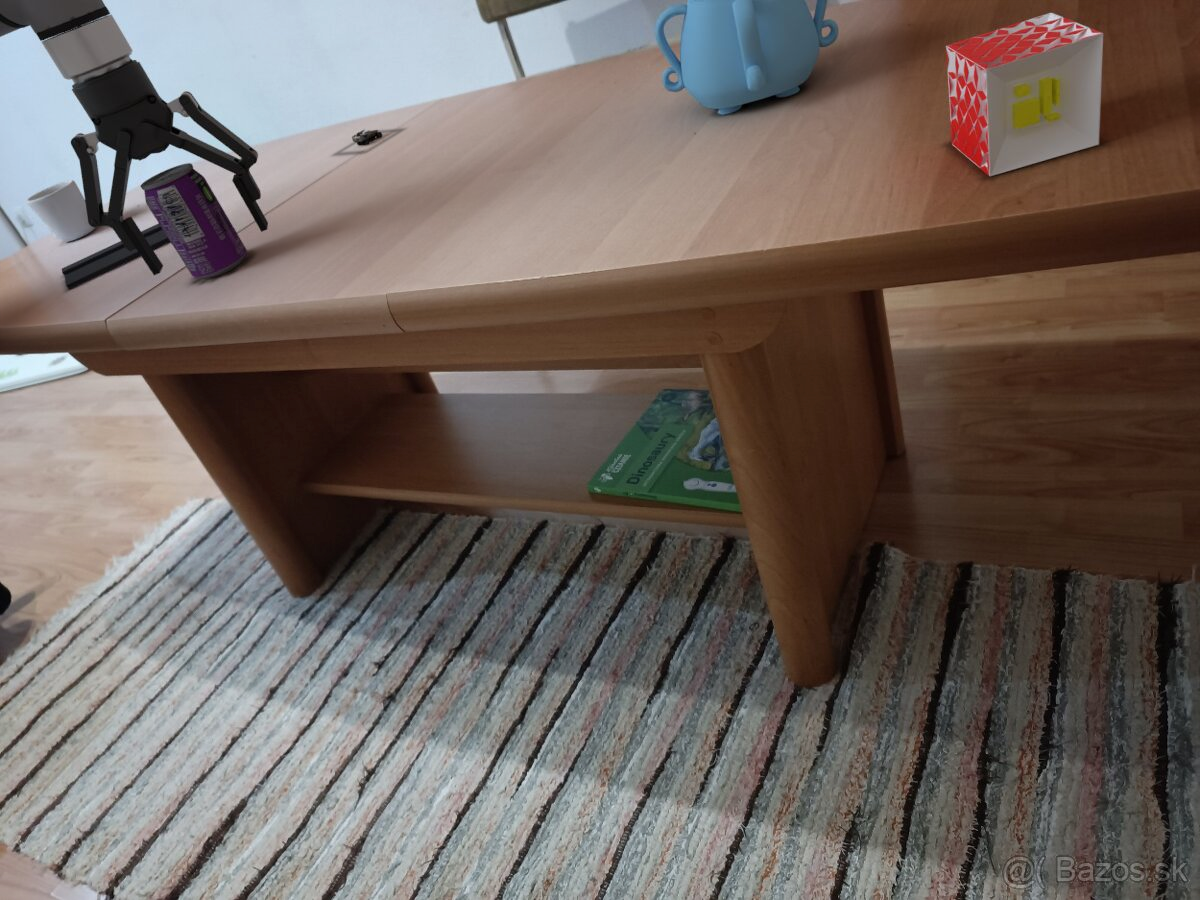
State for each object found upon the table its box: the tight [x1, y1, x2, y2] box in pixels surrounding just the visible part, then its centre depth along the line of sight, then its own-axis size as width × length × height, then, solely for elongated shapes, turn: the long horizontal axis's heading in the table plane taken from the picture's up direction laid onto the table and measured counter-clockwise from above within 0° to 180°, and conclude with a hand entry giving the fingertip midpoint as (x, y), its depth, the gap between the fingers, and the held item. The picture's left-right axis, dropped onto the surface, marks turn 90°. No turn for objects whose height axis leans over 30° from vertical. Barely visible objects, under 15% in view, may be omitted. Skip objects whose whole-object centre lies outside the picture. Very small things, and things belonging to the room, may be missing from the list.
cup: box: [25, 179, 96, 243], centre depth 145 cm, size 11×8×8 cm
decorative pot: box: [654, 0, 839, 115], centre depth 94 cm, size 16×16×14 cm
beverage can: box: [140, 162, 248, 279], centre depth 103 cm, size 7×7×12 cm
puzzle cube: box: [945, 12, 1104, 177], centre depth 66 cm, size 8×8×8 cm
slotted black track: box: [61, 222, 171, 291], centre depth 126 cm, size 20×10×1 cm, turn 122°
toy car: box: [351, 128, 383, 147], centre depth 136 cm, size 3×4×2 cm, turn 143°
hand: (212, 249), depth 105 cm, fingers open, 13 cm apart
